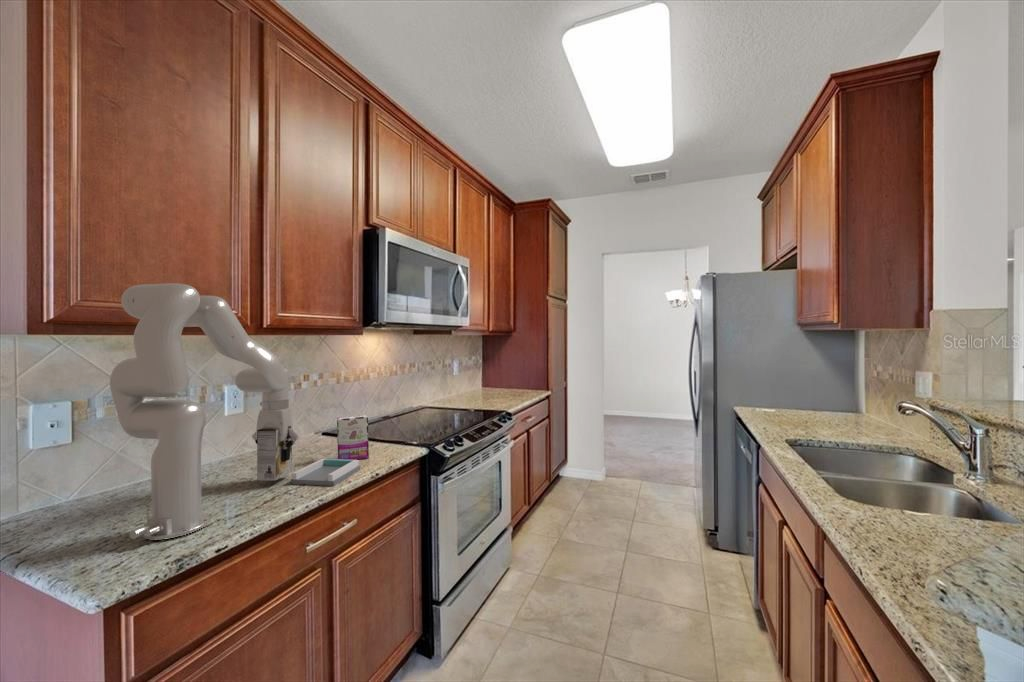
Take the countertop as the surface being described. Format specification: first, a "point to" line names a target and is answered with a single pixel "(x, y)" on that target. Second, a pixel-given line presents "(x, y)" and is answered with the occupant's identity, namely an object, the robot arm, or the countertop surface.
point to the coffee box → (271, 456)
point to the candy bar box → (353, 437)
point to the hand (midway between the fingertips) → (274, 459)
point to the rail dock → (325, 472)
